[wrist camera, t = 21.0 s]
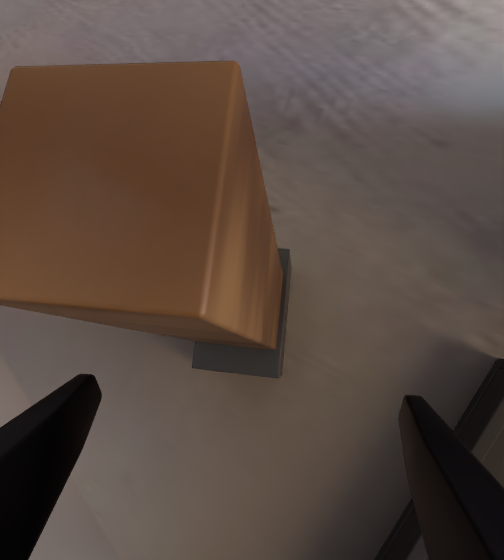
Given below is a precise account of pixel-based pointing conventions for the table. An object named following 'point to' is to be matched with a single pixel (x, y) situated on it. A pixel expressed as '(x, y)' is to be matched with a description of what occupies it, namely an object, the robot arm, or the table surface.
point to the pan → (480, 441)
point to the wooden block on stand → (143, 207)
